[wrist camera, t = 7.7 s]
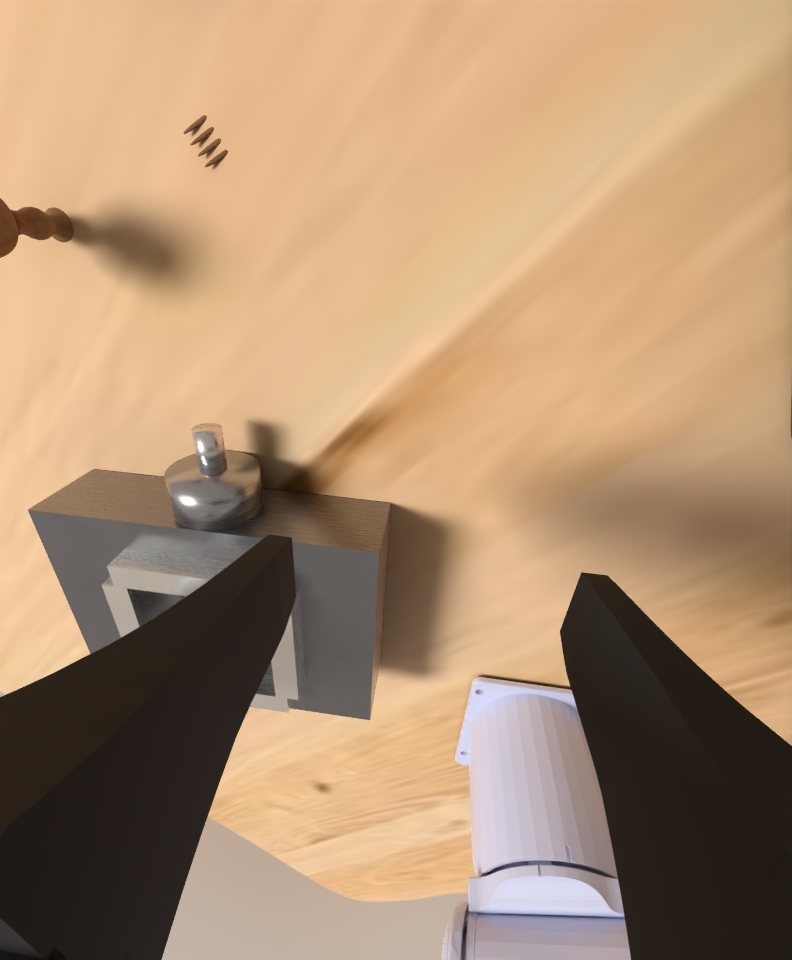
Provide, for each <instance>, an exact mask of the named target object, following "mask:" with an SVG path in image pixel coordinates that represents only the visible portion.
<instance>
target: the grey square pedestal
mask: <svg viewBox="0 0 792 960" xmlns="http://www.w3.org/2000/svg"><path fill="white" fill-rule="evenodd" d="M192 435H193V440H194V445H195V450H196V454H194V455H191V456H188V457H185V458H183V459H180V460H178V461H177V462H175V463H174V464H172V465H171V466H170V467H169V468H168V469H167V470H166V472H165V477H158V476H149V475H140V474H131V473H123V472H114V471H105V470H96V469H93V470H91V471H90V472H88V473H86V474H85V475H83V476H82V477H80V478H78V479H77V480H75V481H73V482H72V483H70V484H69V485H67V486H65V487H64V488H62V489H61V490H59V491H57V492H56V493H54V494H53V495H51V496H49V497H48V498H46V499H44V500H43V501H41V502H40V503H38V504H36V505H35V506H33V507H32V508H30V509H28V511H29V513H30V516H31V518H32V520H33V523H34V525H35V527H36V530H37V532H38V534H39V536H40V539H41V541H42V543H43V546H44V548H45V550H46V552H47V555H48V557H49V559H50V562H51V564H52V566H53V569H54V571H55V573H56V575H57V578H58V580H59V582H60V585H61V587H62V589H63V591H64V594H65V596H66V598H67V601H68V603H69V605H70V607H71V610H72V612H73V614H74V617H75V619H76V621H77V624H78V626H79V628H80V630H81V633H82V635H83V637H84V640H85V642H86V644H87V646H88V649H89V651H90V653H91V654H92V653H94V652H96V651H97V650H99V649H101V648H103V647H105V646H107V645H109V644H111V643H113V642H114V641H116V640H118V639H120V638H121V637H123V636H125V635H126V634H128V633H130V632H132V631H133V630H135V629H137V628H138V627H140V626H142V625H144V624H145V623H147V622H148V621H150V620H152V619H153V618H155V617H156V616H158V615H160V614H161V613H163V612H164V611H166V610H167V609H169V608H170V607H172V606H173V605H175V604H176V603H177V602H179V601H180V600H181V599H182V598H183V597H185V596H188V595H189V594H191V593H192V592H193V591H195V590H196V589H198V588H199V587H201V586H202V585H203V584H205V583H206V582H207V581H209V580H210V579H211V578H213V577H214V576H215V575H217V574H218V573H219V572H221V571H222V570H223V569H225V568H226V567H227V566H229V565H230V564H231V563H232V562H234V561H235V560H236V559H238V558H239V557H240V556H241V555H243V554H244V553H245V552H247V551H248V550H249V549H250V548H252V547H253V546H254V545H256V544H257V543H258V542H260V541H261V540H262V539H263V538H265V537H266V536H267V535H277V536H285V537H292V546H293V559H294V573H295V587H296V599H295V602H294V605H293V609H292V612H291V615H290V618H289V621H288V624H287V627H286V630H285V632H284V635H283V637H282V639H281V641H280V644H279V646H278V648H277V650H276V652H275V654H274V656H273V659H272V661H271V663H270V665H269V667H268V669H267V671H266V673H265V675H264V678H263V680H262V682H261V684H260V686H259V688H258V690H257V692H256V694H255V696H254V699H253V701H252V703H251V705H250V707H255V708H262V709H269V710H275V711H282V712H288V713H289V710H290V708H293V709H299V710H306V711H313V712H319V713H326V714H333V715H339V716H346V717H353V718H359V719H366V720H370V717H371V711H372V705H373V700H374V694H375V688H376V682H377V676H378V670H379V664H380V657H381V642H382V627H383V612H384V596H385V581H386V566H387V551H388V536H389V521H390V506H391V503H386V502H377V501H369V500H360V499H351V498H342V497H333V496H325V495H316V494H307V493H298V492H290V491H281V490H272V489H263V488H262V483H261V474H260V465H259V462H258V461H257V459H256V458H254V457H253V456H251V455H249V454H246V453H243V452H238V451H228V450H225V446H224V439H223V432H222V427H221V426H220V425H218V424H214V423H206V424H200V425H197V426H195V427H193V428H192Z"/></svg>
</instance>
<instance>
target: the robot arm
mask: <svg viewBox="0 0 792 960" xmlns="http://www.w3.org/2000/svg"><path fill="white" fill-rule="evenodd" d="M295 599H296V587H295V573H294V559H293V546H292V537H285V536H277V535H267V536H266V537H265V538H263V539H262V540H261V541H260V542H258V543H257V544H256V545H254V546H253V547H252V548H250V549H249V550H248V551H247V552H245V553H244V554H243V555H241V556H240V557H239V558H238V559H236V560H235V561H234V562H232V563H231V564H230V565H229V566H227V567H226V568H225V569H223V570H222V571H221V572H219V573H218V574H217V575H215V576H214V577H213V578H211V579H210V580H209V581H207V582H206V583H205V584H203V585H202V586H201V587H199V588H198V589H196V590H195V591H193V592H192V593H191V594H189V595H188V596H186V597H185V598H183V599H182V600H180V601H179V602H177V603H176V604H175V605H173V606H172V607H170V608H169V609H167V610H166V611H164V612H163V613H161V614H160V615H158V616H156V617H155V618H153V619H152V620H150V621H148V622H147V623H145V624H144V625H142V626H140V627H138V628H137V629H135V630H133V631H132V632H130V633H128V634H126V635H125V636H123V637H121V638H120V639H118V640H116V641H114V642H113V643H111V644H109V645H107V646H105V647H103V648H101V649H99V650H97V651H96V652H94V653H92V654H90V655H88V656H86V657H84V658H82V659H80V660H78V661H76V662H74V663H72V664H70V665H68V666H66V667H64V668H63V669H61V670H59V671H57V672H55V673H53V674H51V675H48V676H46V677H44V678H42V679H40V680H38V681H36V682H33V683H31V684H29V685H27V686H25V687H23V688H20V689H18V690H16V691H14V692H11V693H9V694H7V695H5V696H2V697H0V960H161V959H162V956H163V953H164V949H165V946H166V943H167V940H168V936H169V933H170V930H171V927H172V924H173V920H174V917H175V914H176V911H177V907H178V904H179V901H180V898H181V894H182V891H183V888H184V885H185V882H186V879H187V876H188V873H189V870H190V867H191V864H192V861H193V858H194V855H195V852H196V849H197V846H198V843H199V840H200V836H201V834H202V831H203V828H204V825H205V822H206V819H207V816H208V813H209V811H210V808H211V805H212V802H213V799H214V796H215V793H216V791H217V788H218V785H219V782H220V779H221V777H222V774H223V771H224V768H225V766H226V763H227V760H228V758H229V755H230V752H231V749H232V747H233V744H234V741H235V739H236V736H237V734H238V732H239V729H240V727H241V725H242V722H243V720H244V718H245V715H246V713H247V711H248V709H249V707H250V705H251V703H252V701H253V699H254V696H255V694H256V692H257V690H258V688H259V686H260V684H261V682H262V680H263V678H264V675H265V673H266V671H267V669H268V667H269V665H270V663H271V661H272V659H273V656H274V654H275V652H276V650H277V648H278V646H279V644H280V641H281V639H282V637H283V635H284V632H285V630H286V627H287V624H288V621H289V618H290V615H291V612H292V609H293V605H294V602H295ZM560 635H561V641H562V648H563V655H564V660H565V666H566V672H567V676H568V679H569V683H570V686H571V690H570V689H563V688H556V687H548V686H541V685H534V684H527V683H520V682H513V681H506V680H498V679H491V678H484V677H477V678H475V679H474V680H473V682H472V686H471V690H470V694H469V698H468V703H467V707H466V711H465V715H464V720H463V724H462V728H461V732H460V737H459V741H458V745H457V749H456V753H455V761H456V762H457V763H459V764H462V765H469V780H470V809H471V838H472V858H473V866H474V870H475V874H476V877H473V878H468V902H460V903H458V904H457V906H456V907H455V909H454V912H453V914H452V916H451V918H450V919H449V921H448V923H447V926H446V929H445V934H444V940H443V948H442V960H792V746H791V745H790V744H788V743H787V742H786V741H785V740H783V739H782V738H781V737H780V736H779V735H777V734H776V733H775V732H774V731H772V730H771V729H770V728H769V727H768V726H766V725H765V724H764V723H763V722H761V721H760V720H759V719H758V718H757V717H755V716H754V715H753V714H752V713H750V712H749V711H748V710H747V709H746V708H744V707H743V706H742V705H741V704H740V703H739V702H737V701H736V700H735V699H734V698H733V697H732V696H730V695H729V694H728V693H727V692H726V691H725V690H724V689H723V688H722V687H720V686H719V685H718V684H717V683H716V682H715V681H714V680H713V679H712V678H711V677H709V676H708V675H707V674H706V673H705V672H704V671H703V670H702V669H701V668H700V667H699V666H697V665H696V664H695V663H694V662H693V661H692V660H691V659H690V658H689V657H688V656H687V655H686V654H685V653H684V652H683V651H682V650H681V649H680V648H679V647H678V646H677V645H676V644H675V643H674V642H673V641H672V640H671V639H670V638H669V637H668V636H667V635H666V634H665V633H664V632H663V631H662V630H661V629H660V628H659V627H658V626H657V625H656V624H655V623H654V622H653V621H652V620H651V619H650V618H649V617H648V616H647V615H646V614H645V613H644V612H643V611H642V610H641V609H640V608H639V607H638V606H637V605H636V604H635V603H634V602H633V601H632V600H631V599H630V598H629V597H628V596H627V595H626V594H625V593H624V592H623V591H622V589H621V588H620V587H619V586H618V585H617V584H616V583H615V582H613V581H612V580H611V579H610V578H609V577H608V576H606V575H598V574H590V573H582V572H581V575H580V578H579V581H578V583H577V586H576V589H575V592H574V594H573V597H572V600H571V603H570V605H569V608H568V611H567V614H566V616H565V619H564V622H563V625H562V627H561V630H560Z"/></svg>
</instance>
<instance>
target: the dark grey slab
mask: <svg viewBox="0 0 792 960" xmlns="http://www.w3.org/2000/svg"><path fill="white" fill-rule="evenodd" d="M791 437H792V397H791Z"/></svg>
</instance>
